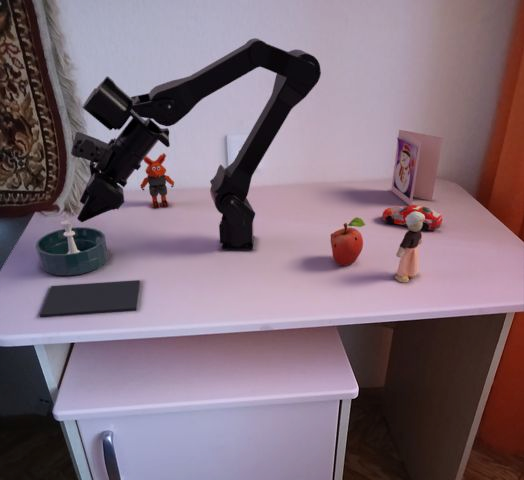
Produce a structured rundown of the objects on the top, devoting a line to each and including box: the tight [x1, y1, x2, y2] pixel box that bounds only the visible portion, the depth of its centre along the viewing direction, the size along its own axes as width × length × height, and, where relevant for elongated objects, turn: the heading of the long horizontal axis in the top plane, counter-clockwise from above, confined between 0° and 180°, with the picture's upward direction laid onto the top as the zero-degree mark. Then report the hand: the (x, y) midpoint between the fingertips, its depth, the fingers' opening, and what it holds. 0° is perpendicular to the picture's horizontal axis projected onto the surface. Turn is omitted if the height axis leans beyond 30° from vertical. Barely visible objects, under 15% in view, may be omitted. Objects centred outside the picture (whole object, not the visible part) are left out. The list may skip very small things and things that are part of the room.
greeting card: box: [390, 129, 444, 206], centre depth 131 cm, size 11×7×15 cm, turn 14°
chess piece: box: [59, 211, 81, 254], centre depth 105 cm, size 5×5×10 cm
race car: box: [381, 204, 443, 232], centre depth 120 cm, size 13×5×4 cm, turn 60°
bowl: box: [35, 226, 110, 276], centre depth 107 cm, size 13×13×4 cm
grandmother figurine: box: [394, 211, 425, 284], centre depth 98 cm, size 8×4×13 cm, turn 148°
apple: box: [330, 216, 366, 267], centre depth 103 cm, size 8×7×10 cm
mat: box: [39, 279, 141, 318], centre depth 96 cm, size 16×10×1 cm, turn 97°
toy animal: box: [139, 152, 175, 209], centre depth 128 cm, size 8×6×12 cm
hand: (80, 211), depth 102 cm, fingers open, 9 cm apart
